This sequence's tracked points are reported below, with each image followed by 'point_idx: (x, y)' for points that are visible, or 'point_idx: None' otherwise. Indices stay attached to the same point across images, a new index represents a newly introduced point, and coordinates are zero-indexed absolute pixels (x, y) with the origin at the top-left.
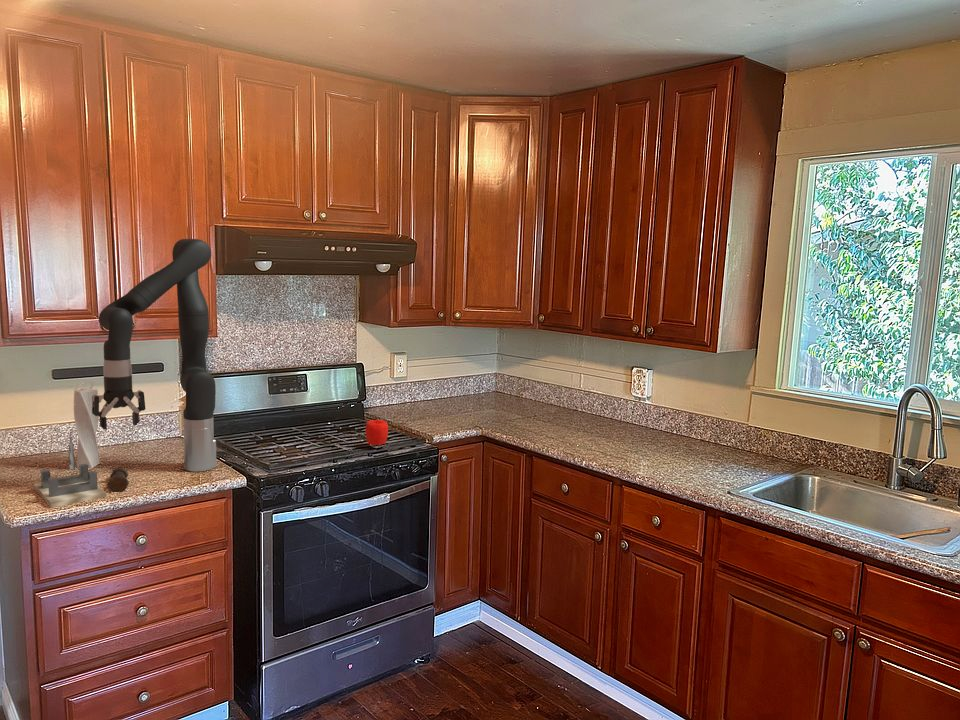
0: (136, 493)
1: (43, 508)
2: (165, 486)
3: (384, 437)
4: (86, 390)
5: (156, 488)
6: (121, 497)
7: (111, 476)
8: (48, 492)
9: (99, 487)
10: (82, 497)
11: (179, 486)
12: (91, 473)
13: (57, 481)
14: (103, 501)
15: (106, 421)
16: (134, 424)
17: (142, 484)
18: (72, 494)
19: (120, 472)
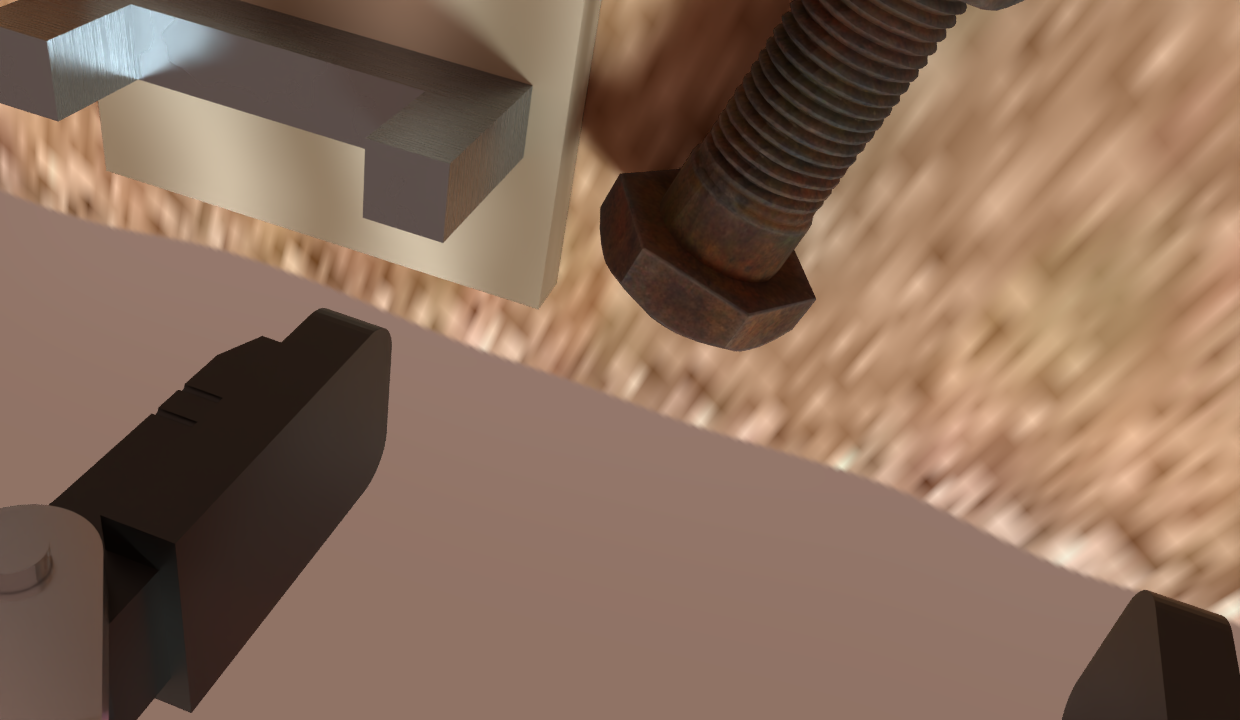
0: (806, 395)
1: (92, 120)
2: (1138, 451)
3: None
4: None
5: (1031, 429)
6: (654, 377)
7: None
8: None
9: (559, 122)
10: (347, 242)
11: (1221, 552)
12: (384, 222)
13: (73, 109)
14: (500, 343)
15: (268, 611)
16: (1073, 712)
17: (1044, 215)
18: None
19: (893, 29)
